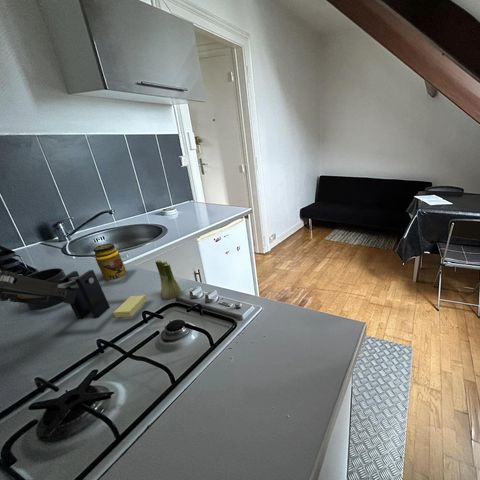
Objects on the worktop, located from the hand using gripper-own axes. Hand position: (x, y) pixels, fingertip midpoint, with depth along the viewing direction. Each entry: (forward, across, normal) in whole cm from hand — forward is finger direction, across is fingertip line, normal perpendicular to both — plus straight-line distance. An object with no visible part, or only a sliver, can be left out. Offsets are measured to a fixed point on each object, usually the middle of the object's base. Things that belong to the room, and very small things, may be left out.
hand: (59, 298), depth 58 cm
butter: (+12, -9, +2) cm, 15 cm away
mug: (+18, +19, -3) cm, 26 cm away
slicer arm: (0, 0, -2) cm, 2 cm away
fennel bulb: (+16, -17, -1) cm, 23 cm away
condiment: (+26, +9, -11) cm, 29 cm away
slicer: (+11, 0, +3) cm, 12 cm away
